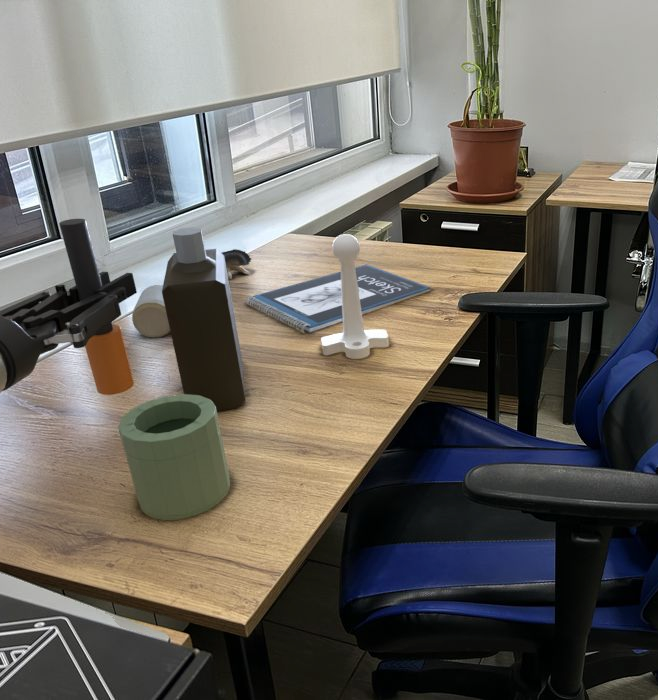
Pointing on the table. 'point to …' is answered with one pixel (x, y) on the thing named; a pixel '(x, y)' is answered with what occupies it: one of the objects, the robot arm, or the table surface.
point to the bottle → (203, 321)
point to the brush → (107, 343)
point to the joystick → (351, 308)
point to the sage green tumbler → (175, 456)
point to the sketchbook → (334, 298)
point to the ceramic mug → (151, 313)
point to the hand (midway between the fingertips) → (119, 282)
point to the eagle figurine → (236, 261)
